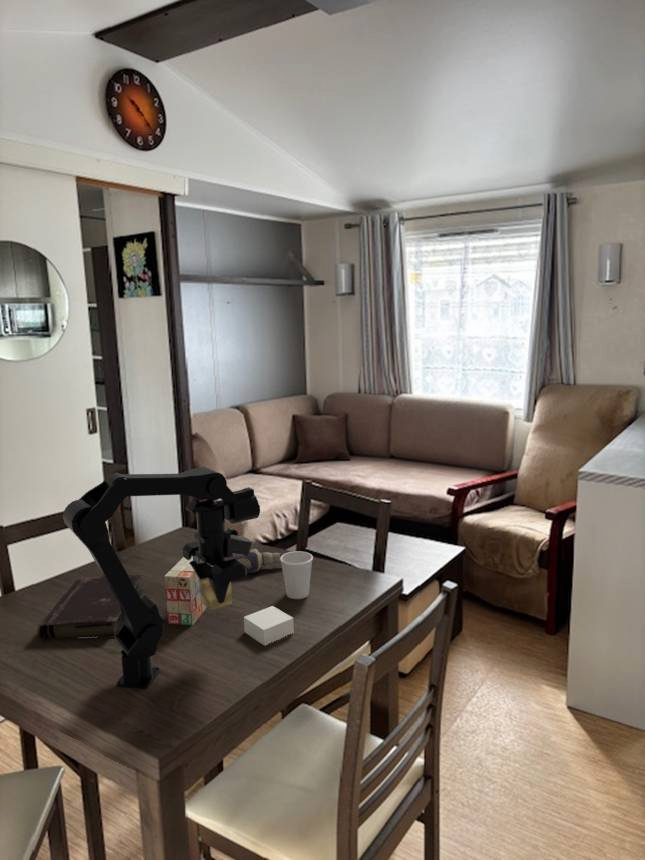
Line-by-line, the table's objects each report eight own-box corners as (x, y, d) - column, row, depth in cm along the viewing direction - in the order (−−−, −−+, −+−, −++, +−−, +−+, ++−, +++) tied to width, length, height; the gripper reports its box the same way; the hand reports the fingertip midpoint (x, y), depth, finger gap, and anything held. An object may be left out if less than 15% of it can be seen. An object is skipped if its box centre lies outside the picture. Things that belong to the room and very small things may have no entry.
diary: (38, 644, 143) (35, 623, 142) (76, 594, 168) (74, 577, 167) (121, 639, 144) (119, 619, 143) (147, 591, 168) (145, 573, 167)
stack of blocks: (200, 585, 170) (198, 541, 168) (223, 586, 169) (220, 542, 167) (167, 624, 149) (163, 575, 147) (192, 626, 148) (189, 576, 146)
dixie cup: (317, 588, 166) (316, 552, 164) (308, 603, 158) (307, 565, 156) (287, 585, 168) (286, 549, 166) (276, 599, 160) (275, 562, 158)
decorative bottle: (194, 583, 171) (193, 560, 170) (193, 572, 179) (192, 550, 177) (289, 572, 177) (288, 549, 176) (284, 562, 184) (283, 540, 183)
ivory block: (293, 634, 144) (293, 617, 143) (264, 646, 139) (263, 629, 138) (273, 621, 150) (272, 605, 149) (244, 633, 145) (243, 616, 144)
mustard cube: (232, 603, 135) (230, 581, 134) (210, 610, 132) (209, 587, 131) (221, 595, 139) (220, 573, 138) (200, 601, 136) (198, 579, 135)
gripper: (267, 531, 129) (270, 603, 132) (225, 509, 144) (229, 574, 147) (218, 544, 123) (222, 619, 126) (179, 519, 138) (184, 587, 141)
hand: (215, 598), depth 135 cm, fingers closed on mustard cube, 5 cm apart
